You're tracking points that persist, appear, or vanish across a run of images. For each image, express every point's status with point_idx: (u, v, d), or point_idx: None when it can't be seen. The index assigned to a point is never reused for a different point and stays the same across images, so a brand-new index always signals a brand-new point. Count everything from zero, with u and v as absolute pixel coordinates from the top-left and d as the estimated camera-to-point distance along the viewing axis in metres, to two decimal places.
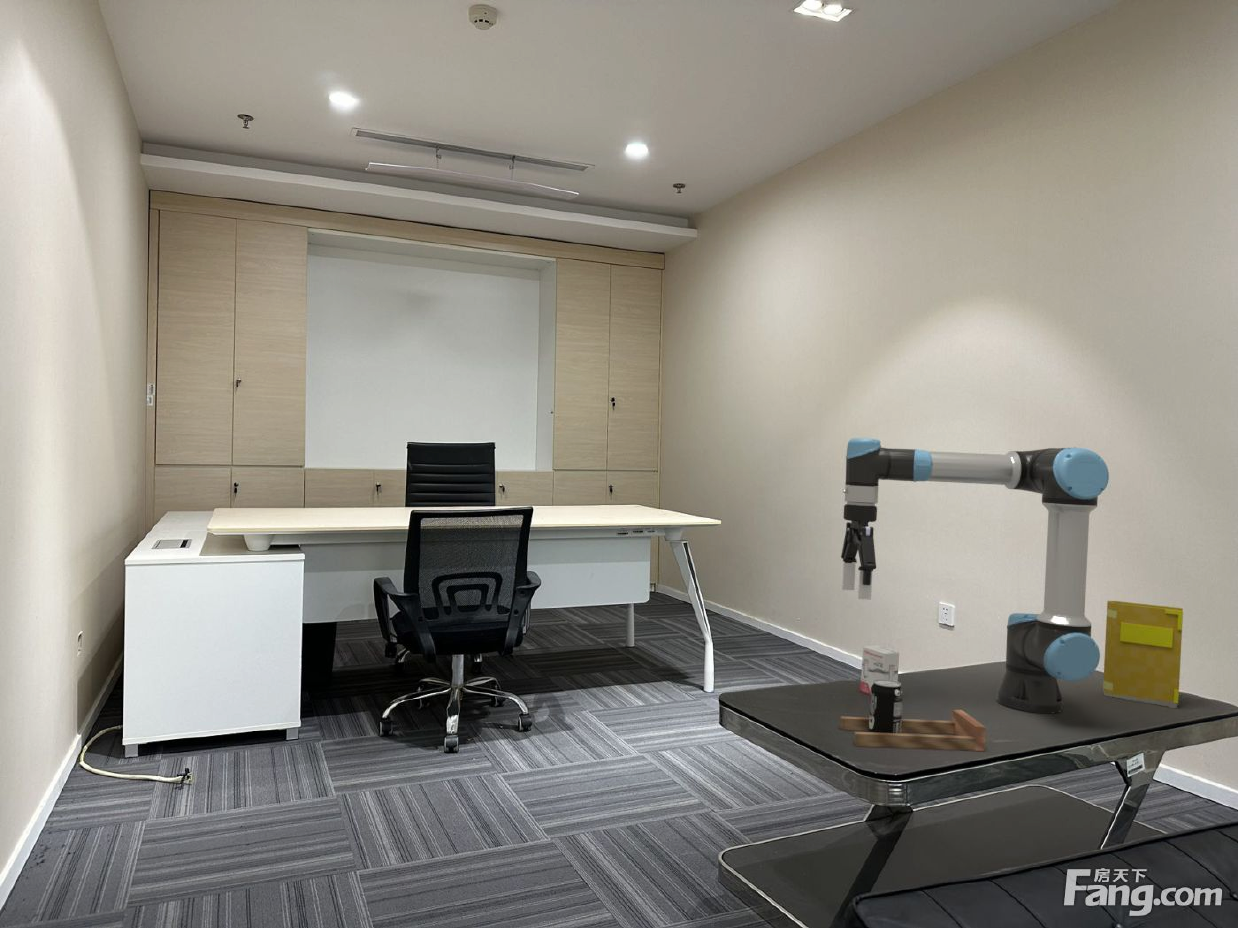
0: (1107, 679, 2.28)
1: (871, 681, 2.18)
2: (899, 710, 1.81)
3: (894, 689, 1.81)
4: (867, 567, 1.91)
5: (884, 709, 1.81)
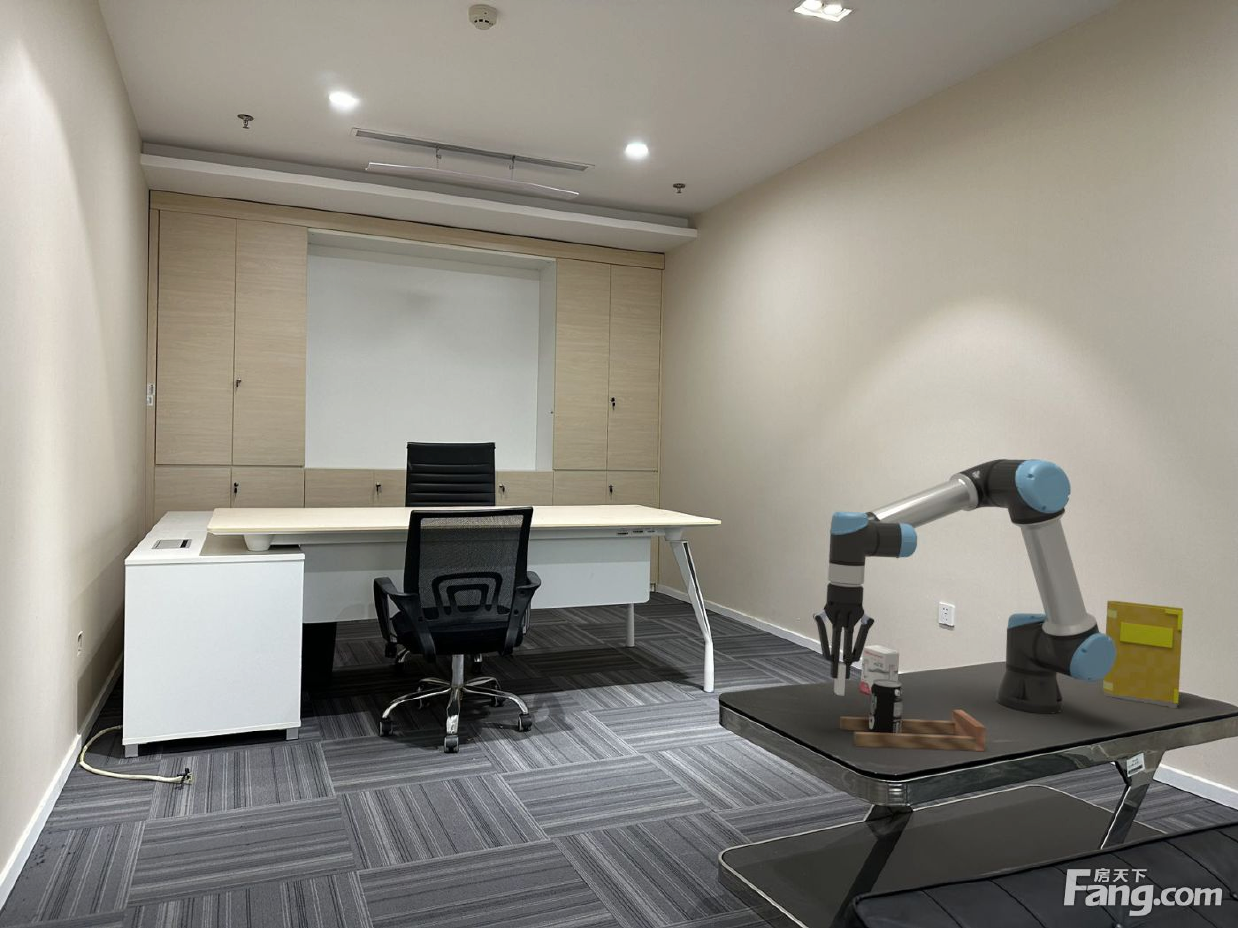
0: (1107, 679, 2.28)
1: (871, 681, 2.18)
2: (899, 710, 1.81)
3: (894, 689, 1.81)
4: (823, 656, 1.84)
5: (884, 709, 1.81)
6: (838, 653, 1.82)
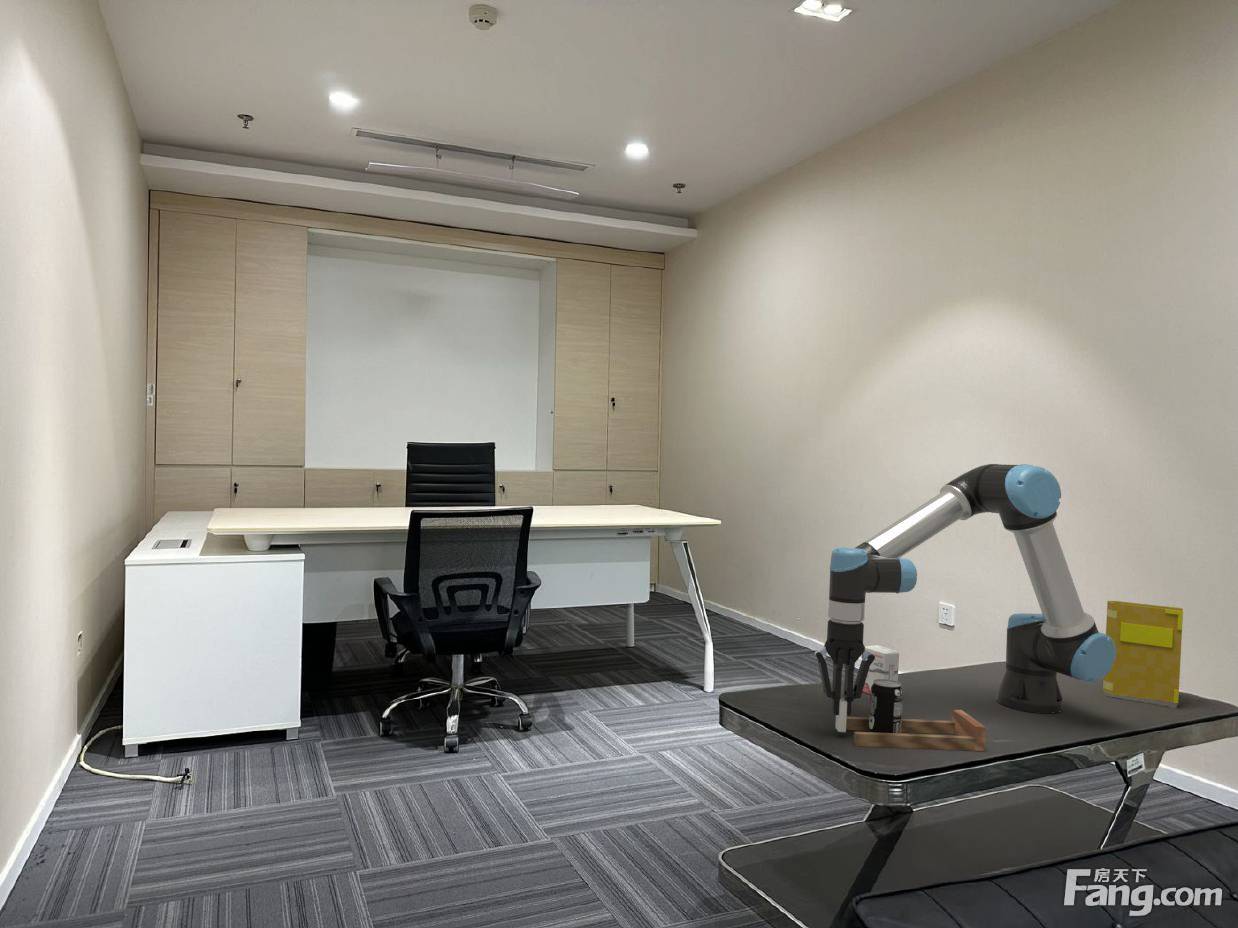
0: (1107, 679, 2.28)
1: (871, 681, 2.18)
2: (899, 710, 1.81)
3: (894, 689, 1.81)
4: None
5: (884, 709, 1.81)
6: (839, 690, 1.82)
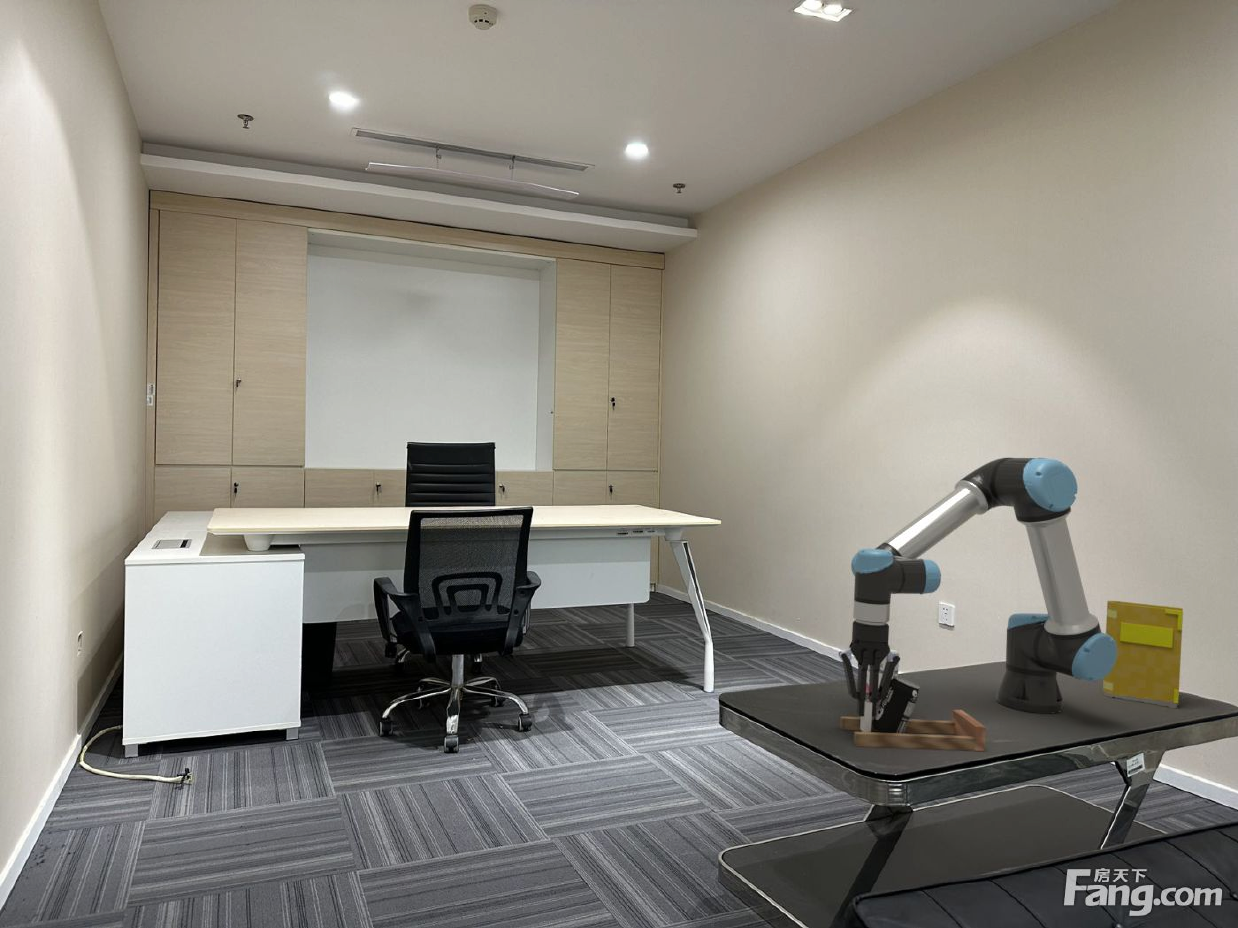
0: (1107, 679, 2.28)
1: None
2: (910, 710, 1.81)
3: (913, 689, 1.81)
4: (849, 694, 1.84)
5: (897, 704, 1.81)
6: (864, 691, 1.83)
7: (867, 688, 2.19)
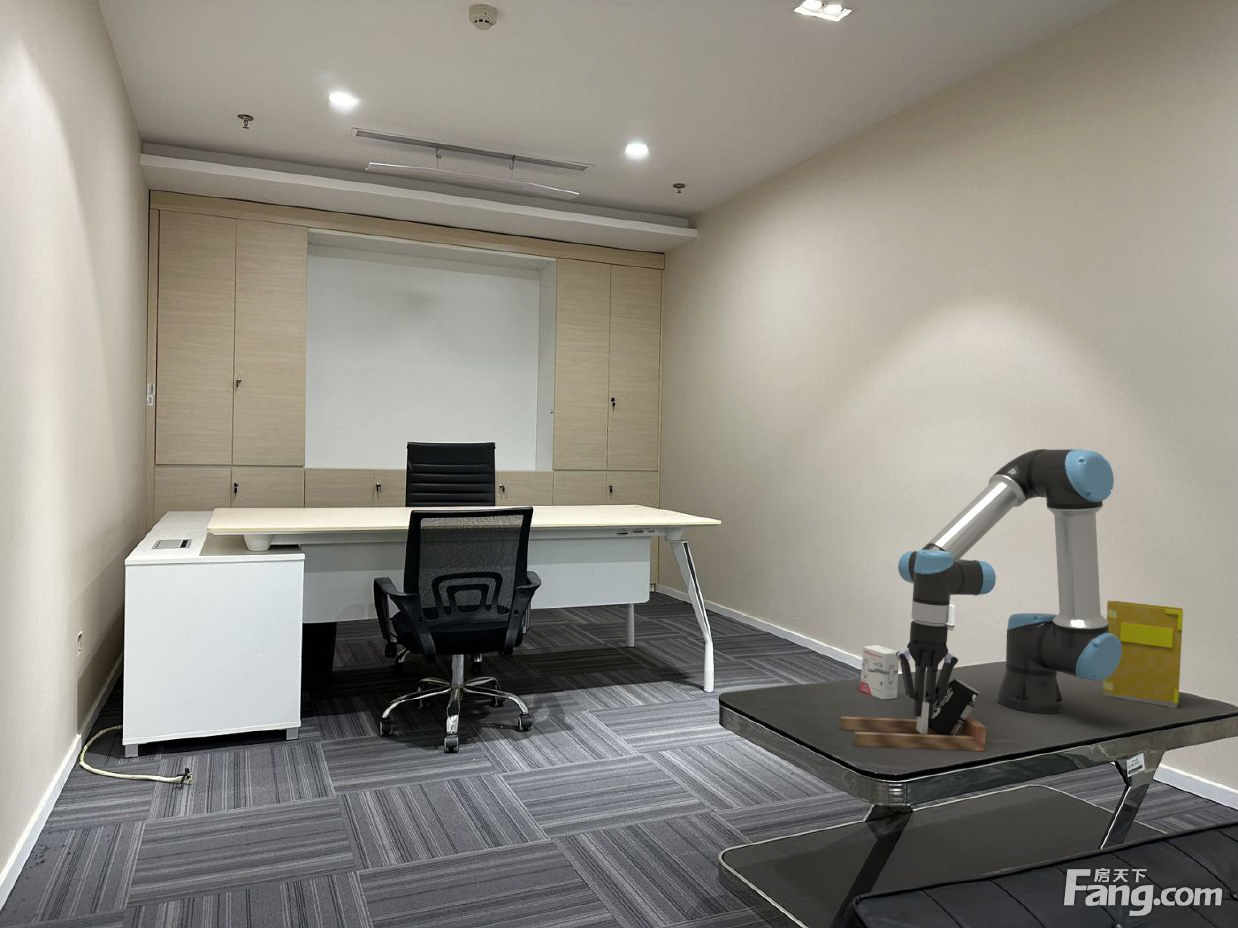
0: (1107, 679, 2.28)
1: (871, 681, 2.18)
2: (967, 714, 1.81)
3: (973, 693, 1.81)
4: (906, 694, 1.85)
5: (955, 706, 1.81)
6: (922, 691, 1.83)
7: (867, 688, 2.19)
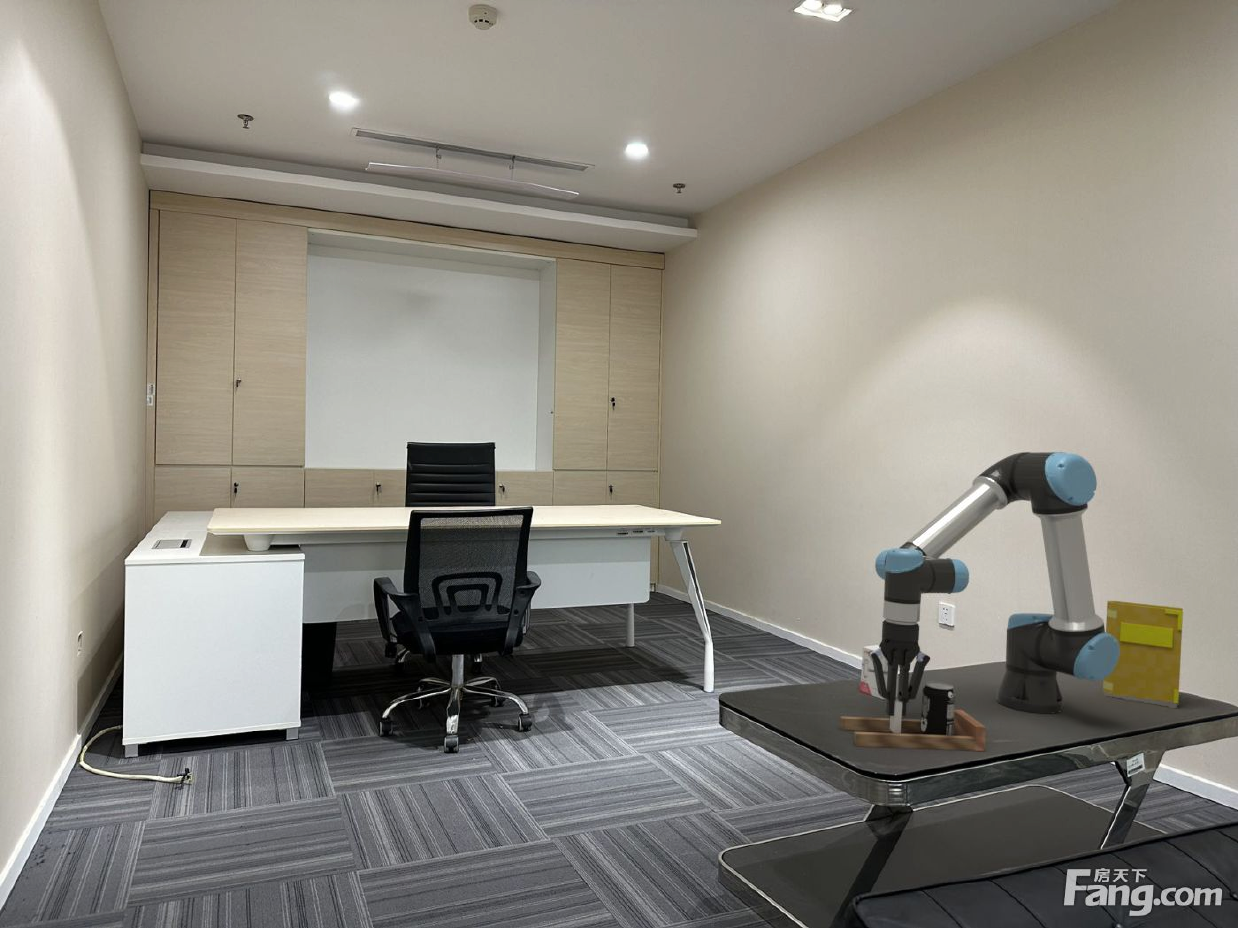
0: (1107, 679, 2.28)
1: (871, 681, 2.18)
2: (952, 712, 1.81)
3: (948, 692, 1.81)
4: (879, 694, 1.84)
5: (938, 711, 1.81)
6: (894, 691, 1.83)
7: (867, 688, 2.19)
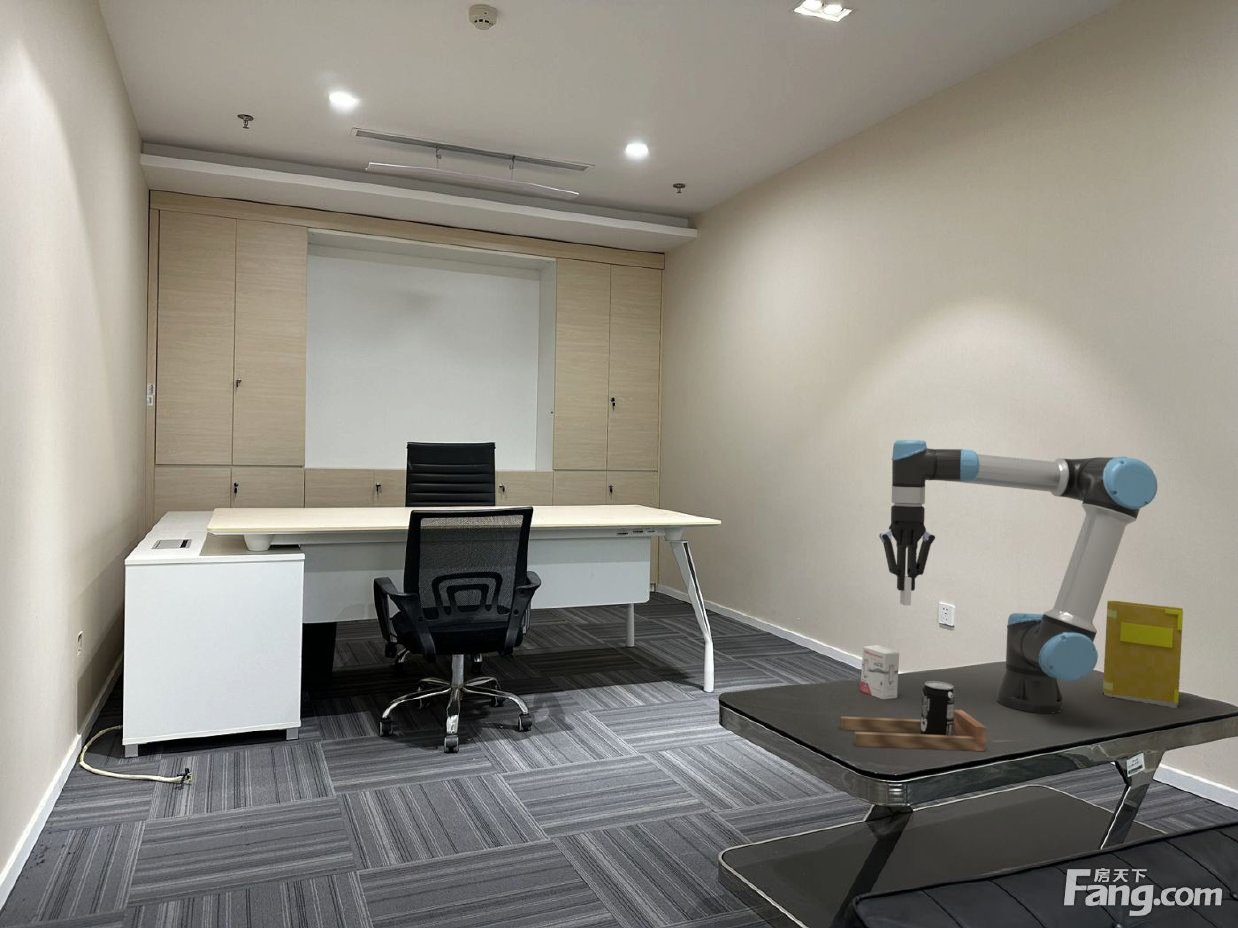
0: (1107, 679, 2.28)
1: (871, 681, 2.18)
2: (952, 712, 1.81)
3: (948, 692, 1.81)
4: (890, 572, 2.03)
5: (938, 711, 1.81)
6: (904, 567, 2.02)
7: (867, 688, 2.19)
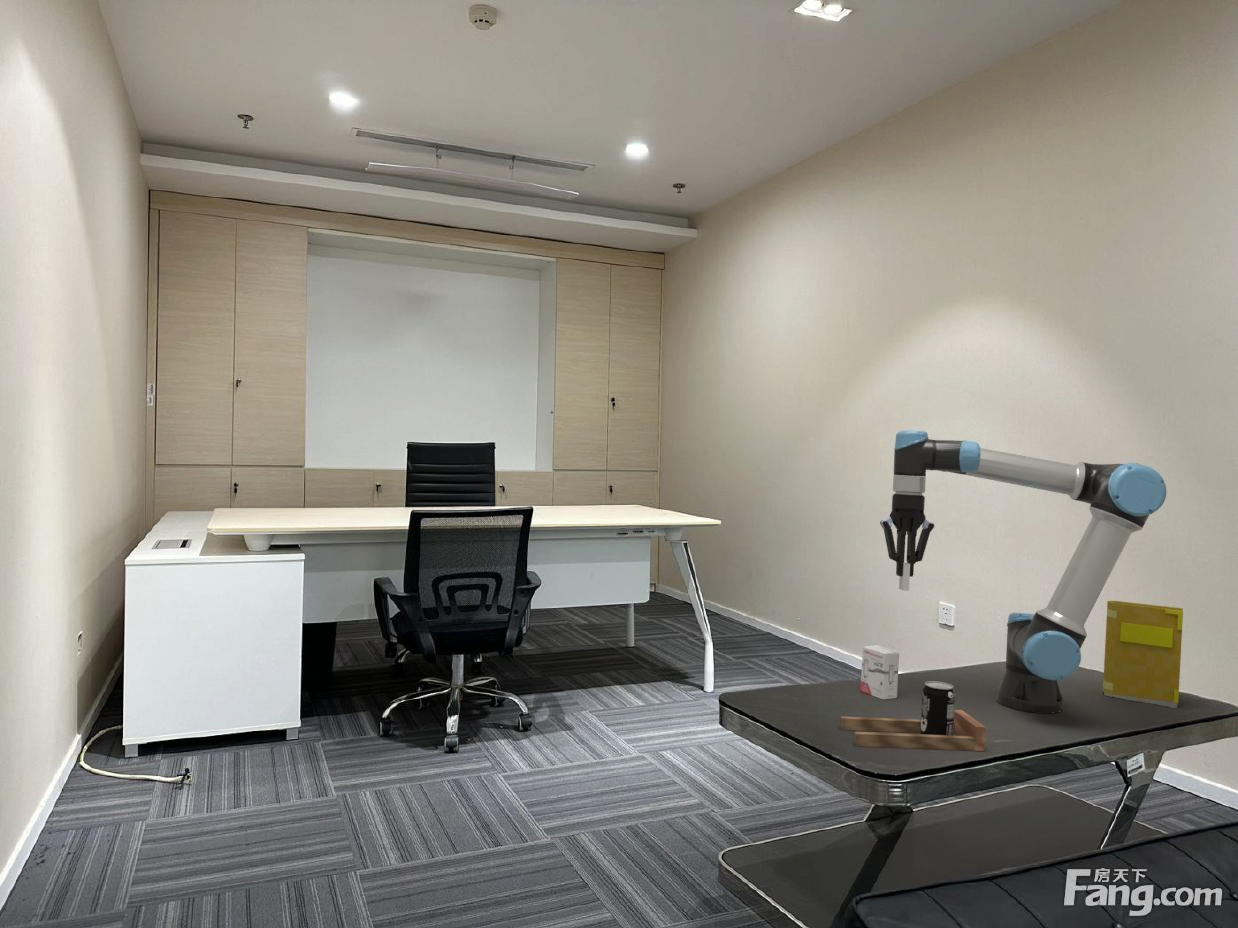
0: (1107, 679, 2.28)
1: (871, 681, 2.18)
2: (952, 712, 1.81)
3: (948, 692, 1.81)
4: (890, 558, 2.10)
5: (938, 711, 1.81)
6: (903, 554, 2.09)
7: (867, 688, 2.19)
